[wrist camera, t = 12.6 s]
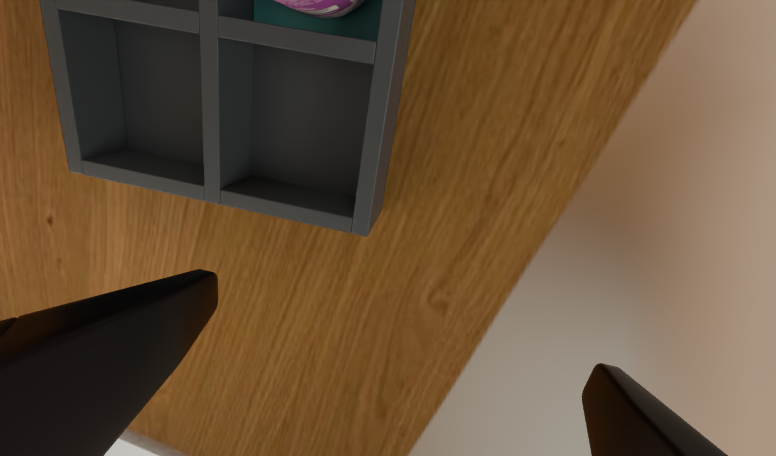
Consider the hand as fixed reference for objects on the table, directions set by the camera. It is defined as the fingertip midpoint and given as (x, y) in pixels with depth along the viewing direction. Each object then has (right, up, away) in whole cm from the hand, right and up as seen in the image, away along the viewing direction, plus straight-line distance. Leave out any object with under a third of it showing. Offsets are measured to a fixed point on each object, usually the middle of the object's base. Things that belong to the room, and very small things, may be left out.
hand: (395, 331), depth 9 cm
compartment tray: (-7, +12, +10) cm, 17 cm away
